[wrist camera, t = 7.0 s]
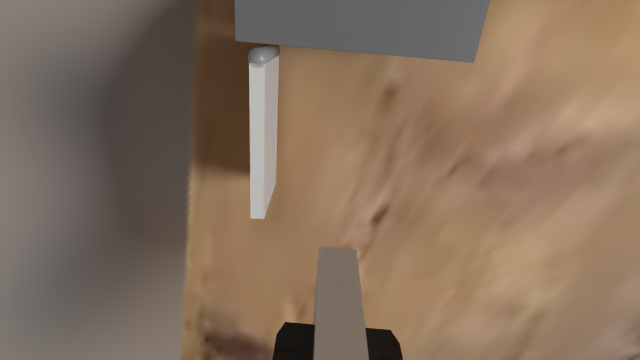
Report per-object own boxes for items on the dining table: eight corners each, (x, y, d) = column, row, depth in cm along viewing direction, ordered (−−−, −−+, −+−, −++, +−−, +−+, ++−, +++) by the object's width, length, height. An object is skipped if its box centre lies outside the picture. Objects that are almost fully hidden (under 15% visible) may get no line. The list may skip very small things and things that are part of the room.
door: (259, 181, 33) (244, 217, 27) (260, 41, 28) (240, 46, 22) (277, 183, 33) (264, 219, 27) (280, 43, 28) (266, 49, 22)
